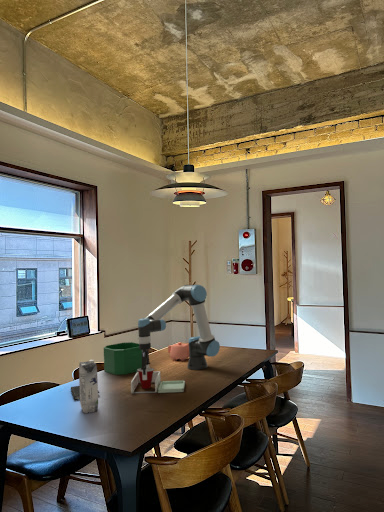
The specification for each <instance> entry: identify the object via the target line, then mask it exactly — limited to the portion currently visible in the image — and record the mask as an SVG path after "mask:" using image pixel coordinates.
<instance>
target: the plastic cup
mask: <svg viewBox="0 0 384 512" xmlns="http://www.w3.org/2000/svg"><path fill="white" fill-rule="evenodd" d="M146 369H147V380H143V378H142V370H141V368H140V369H138V371H137V372H138V373H139V377H140V382H141V383H140V386H141V389H142V390H143V389H144V390H148V389H151V388H152V383H153V382H152V375H153V372H155V371H154V370H155V368H152V367H149V368H146ZM151 382H152V383H151Z"/></svg>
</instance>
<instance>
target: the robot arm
mask: <svg viewBox="0 0 384 512" xmlns="http://www.w3.org/2000/svg"><path fill="white" fill-rule="evenodd" d="M207 293H208V292H207V289H206V288H205V287H204V286H203V285H201V284H184V285H181V286H180V287H179V288H177V289H176V290H175V291H173V292H172V293H171V295H170V297H168V298H167V299H166V300H165V301H163V302H162V303H161V304H160V305H159V306H158V307H157V308H155V309H154V310H153V311H152V312H151V313H149V314H148V315H147V316H145V318H144V317H143V318H139V319H138V321H137V322H138V323H137V328H138V329H137V330H138V338H137V340H138V344H139V349H140V350H143V352H142V368H141V370H142V378H143V380H147V369H146V368H150V365H151V362H150V353H149V352H150V351H149V350H150V349H151V348H152V345H151V344H152V343H151V333H157V332H161V331H165V330H166V327H167V322H166V321H165V319H163V318H164V316H166V315H167V314H168V313H169V312H170V311H172V310H173V309H175V307H176V306H178V305H181V304H182V303H183V302H185V301H186V302H188V304H189V306H190V307H192V310H193V311H192V312H193V315H194V319H195V322H196V325H197V330H198V334H199V335H198V336H191V337H189V338H188V344H189V357H188V361H187V369H188V370H195V371H196V370H197V371H198V370H204V369H207V368H208V363H207V359H206V356H207V357H215V356H217V355H218V354H219V351H220V350H221V349H220V348H221V345H220V343H219V341H218V340H216V338H215V335H213V334H212V330H211V327H210V323H209V318H208V315H207V311H206V307H205V303H206V299H207V296H208V295H207Z"/></svg>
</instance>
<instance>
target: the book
mask: <svg viewBox="0 0 384 512" xmlns="http://www.w3.org/2000/svg"><path fill="white" fill-rule="evenodd" d="M71 392H72V393H71ZM70 393H71V395H72V398H73V400H74V401H76V400H75V399H79V400H80V385H75V386H71V387H70ZM98 394H100V390H98Z"/></svg>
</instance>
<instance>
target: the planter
mask: <svg viewBox="0 0 384 512" xmlns="http://www.w3.org/2000/svg"><path fill="white" fill-rule="evenodd" d="M142 352H143V350H140V349H139V342H138V343H137V342H132V341H131V342H130V341H128V342H125V341H124V342H119V343H118V342H117V343H114V344H108V345H105V346H104V347H103V369H104V372H106V373H108V374H110V375H114V376H115V375H117V376H119V375H122V376H123V375H129V374H133V373H137V372H138V369H140V368H142Z"/></svg>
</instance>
